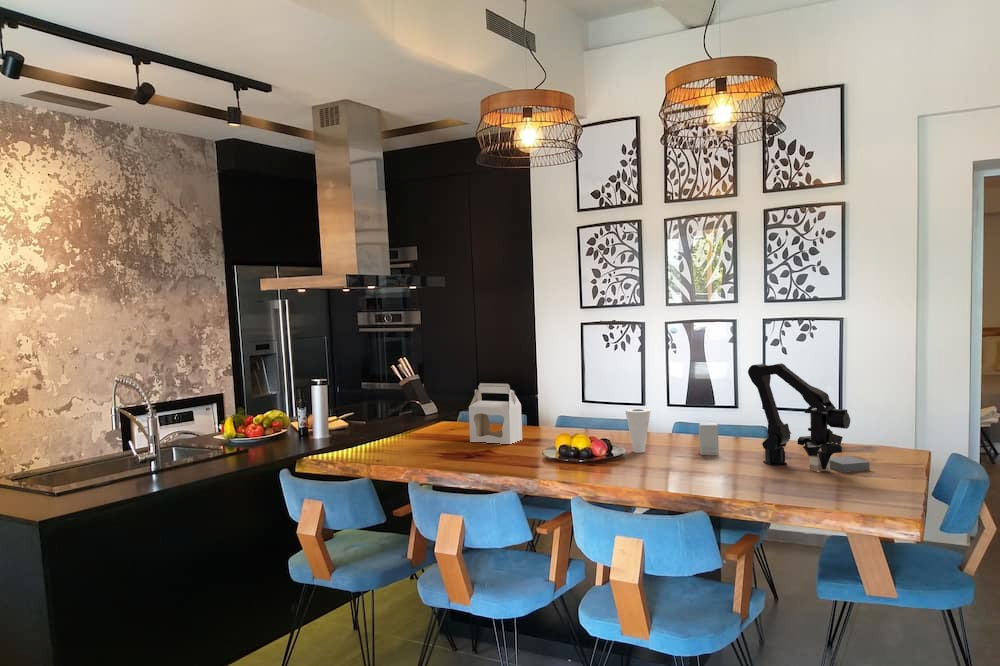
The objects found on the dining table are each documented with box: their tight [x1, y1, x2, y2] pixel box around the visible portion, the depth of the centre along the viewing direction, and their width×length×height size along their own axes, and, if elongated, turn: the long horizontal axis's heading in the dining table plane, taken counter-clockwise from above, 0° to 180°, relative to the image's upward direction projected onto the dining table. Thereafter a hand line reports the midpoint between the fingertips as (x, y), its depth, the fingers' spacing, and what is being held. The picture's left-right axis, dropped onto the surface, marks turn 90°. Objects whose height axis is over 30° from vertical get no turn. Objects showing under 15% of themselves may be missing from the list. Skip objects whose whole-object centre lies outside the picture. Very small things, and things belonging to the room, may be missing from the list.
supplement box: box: [698, 422, 720, 456], centre depth 296 cm, size 7×7×13 cm
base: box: [830, 455, 871, 473], centre depth 263 cm, size 11×11×3 cm
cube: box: [808, 455, 831, 472], centre depth 261 cm, size 5×5×5 cm
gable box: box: [468, 382, 523, 445], centre depth 338 cm, size 22×13×28 cm, turn 63°
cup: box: [625, 407, 651, 454], centre depth 304 cm, size 11×11×18 cm
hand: (819, 467), depth 261 cm, fingers closed on cube, 5 cm apart
